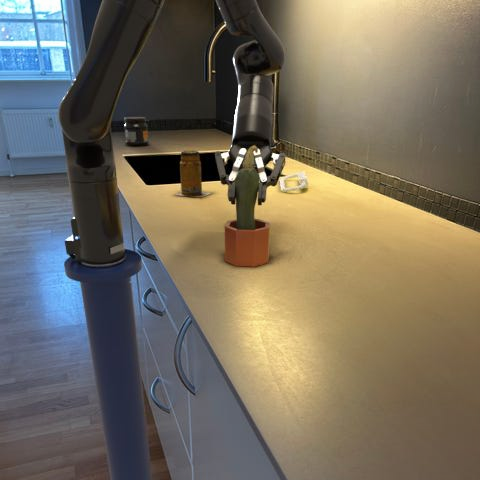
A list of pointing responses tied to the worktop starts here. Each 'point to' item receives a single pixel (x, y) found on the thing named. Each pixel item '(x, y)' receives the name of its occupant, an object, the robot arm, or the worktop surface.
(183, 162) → the condiment
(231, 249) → the utensil pot
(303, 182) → the white open frame
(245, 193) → the vegetable
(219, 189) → the worktop surface
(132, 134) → the supplement container
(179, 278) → the worktop surface
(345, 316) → the worktop surface
